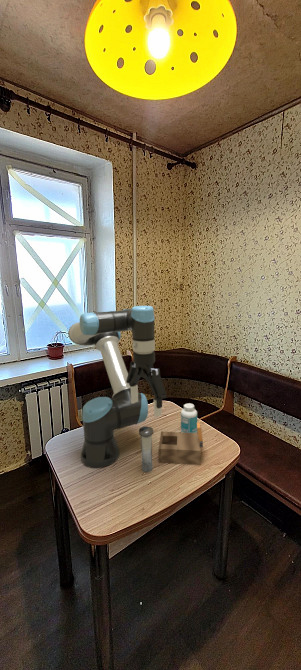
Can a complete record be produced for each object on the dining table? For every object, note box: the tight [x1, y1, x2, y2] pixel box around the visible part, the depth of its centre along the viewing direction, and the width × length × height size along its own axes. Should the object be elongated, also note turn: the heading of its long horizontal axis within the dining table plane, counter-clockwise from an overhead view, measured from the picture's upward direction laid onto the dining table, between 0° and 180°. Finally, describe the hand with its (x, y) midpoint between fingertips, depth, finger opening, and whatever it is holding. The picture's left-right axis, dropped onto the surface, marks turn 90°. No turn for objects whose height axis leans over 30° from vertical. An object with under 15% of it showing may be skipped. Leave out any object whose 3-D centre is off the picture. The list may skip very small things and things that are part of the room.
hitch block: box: [158, 430, 204, 466], centre depth 109 cm, size 17×12×8 cm
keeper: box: [197, 421, 204, 442], centre depth 107 cm, size 6×4×1 cm
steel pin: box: [138, 426, 154, 473], centre depth 100 cm, size 5×5×16 cm
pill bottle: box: [180, 402, 198, 433], centre depth 124 cm, size 8×7×14 cm
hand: (145, 408), depth 97 cm, fingers open, 13 cm apart
